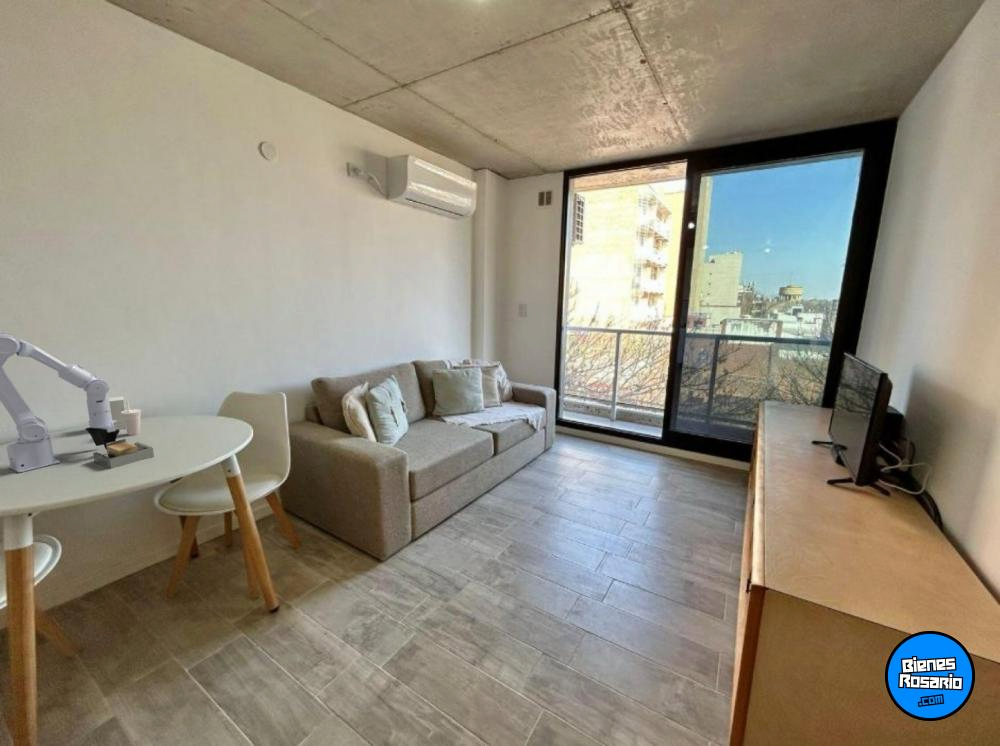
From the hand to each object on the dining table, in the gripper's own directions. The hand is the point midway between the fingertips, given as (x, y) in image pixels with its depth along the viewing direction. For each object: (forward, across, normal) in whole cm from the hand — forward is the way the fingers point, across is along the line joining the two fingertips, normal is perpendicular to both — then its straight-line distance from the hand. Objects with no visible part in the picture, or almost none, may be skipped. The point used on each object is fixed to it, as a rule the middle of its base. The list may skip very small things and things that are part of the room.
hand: (105, 447), depth 148 cm
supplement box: (+2, +29, -14) cm, 32 cm away
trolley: (+2, -13, 0) cm, 13 cm away
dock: (+2, -14, 0) cm, 14 cm away
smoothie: (+2, +14, -14) cm, 20 cm away
